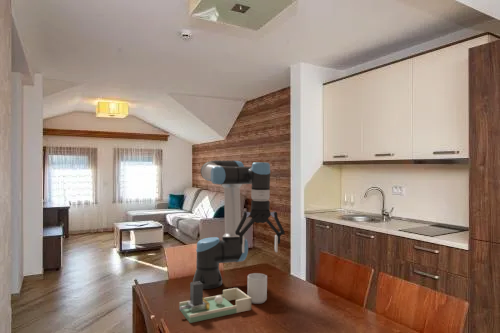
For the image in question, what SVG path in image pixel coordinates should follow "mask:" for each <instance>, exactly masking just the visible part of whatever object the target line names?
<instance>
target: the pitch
mask: <svg viewBox="0 0 500 333" xmlns="http://www.w3.org/2000/svg"><path fill="white" fill-rule="evenodd" d="M216 296H222V298H223V302H222V303H221V304H219V305H218V304H216V303H215V297H216ZM203 298H204V299H205V300H206V301H208V302H209V303H210V308H209V310H206V309H205V310H200V311H195V312H191V311H190V310H189V309H184V310H179V311H180V312H181V314H182V315H183V316H184V318H185V319H186V320H187V322H189V324H192V323H197V322H200V321H205V320H210V319H216V318H219V317H224V316H229V315H233V314H238V313H241V312H246V311H251V310H252V303H251V297H249V296H248V295H247V294H246V293H245V292H244V291H242V290H241V289H240V288H238V287H233V288H232V287H231V288H228V289H223V290H222V294H217V295H213V296H207V297H203ZM187 301H188V300H185V301H179V303H178V304H179V307H180V306H185V305H187ZM230 301H235V305H233V304H232V303H231V302H230ZM179 307H178V308H179Z"/></svg>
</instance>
